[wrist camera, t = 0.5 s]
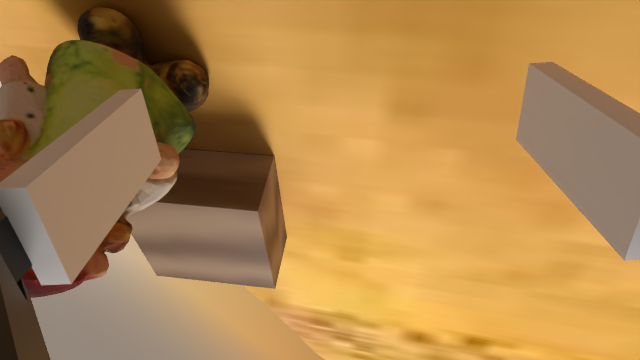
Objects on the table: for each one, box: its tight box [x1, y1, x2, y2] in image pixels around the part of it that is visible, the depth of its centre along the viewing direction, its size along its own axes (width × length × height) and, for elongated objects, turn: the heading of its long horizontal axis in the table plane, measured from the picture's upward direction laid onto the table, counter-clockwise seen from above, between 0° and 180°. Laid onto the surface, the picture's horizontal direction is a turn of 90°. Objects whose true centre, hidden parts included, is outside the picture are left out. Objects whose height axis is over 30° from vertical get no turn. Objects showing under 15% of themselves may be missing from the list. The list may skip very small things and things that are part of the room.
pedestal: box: [126, 149, 287, 289], centre depth 40 cm, size 12×12×6 cm
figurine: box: [0, 7, 209, 298], centre depth 25 cm, size 11×9×20 cm
